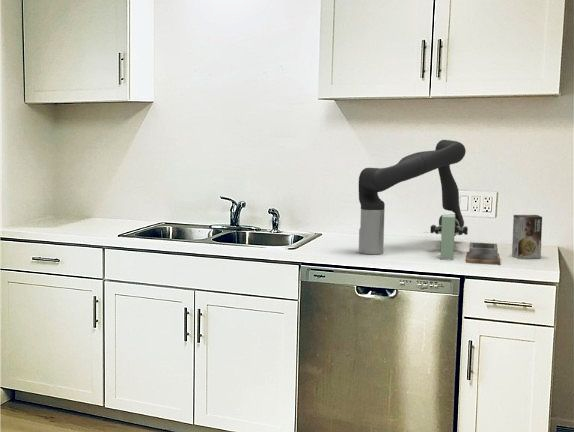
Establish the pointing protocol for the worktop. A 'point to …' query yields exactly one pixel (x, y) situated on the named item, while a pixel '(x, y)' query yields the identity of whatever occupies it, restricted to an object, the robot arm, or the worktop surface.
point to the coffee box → (527, 236)
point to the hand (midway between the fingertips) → (448, 232)
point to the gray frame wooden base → (483, 253)
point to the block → (447, 236)
